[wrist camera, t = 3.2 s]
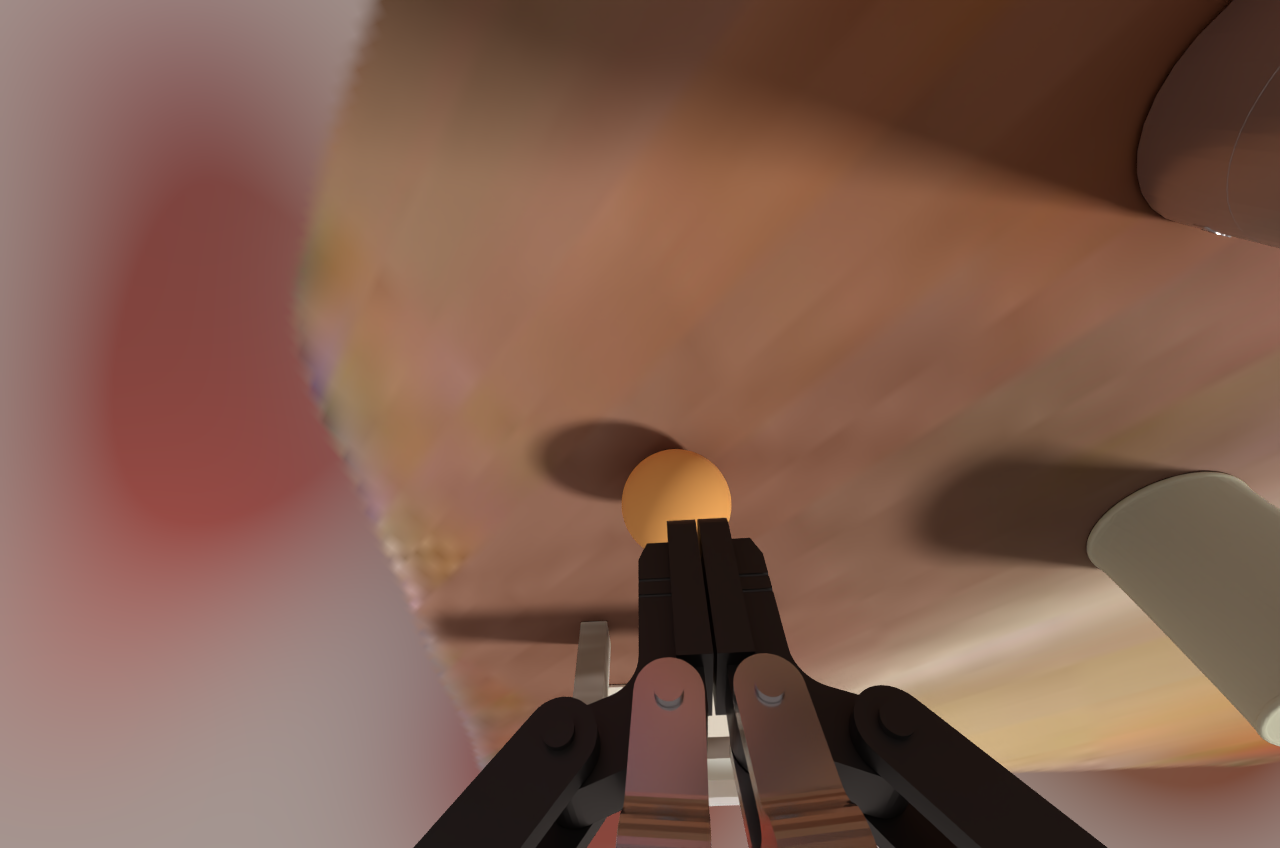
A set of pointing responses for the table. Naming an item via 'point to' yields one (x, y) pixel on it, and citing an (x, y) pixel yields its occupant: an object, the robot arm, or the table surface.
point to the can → (1205, 580)
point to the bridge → (596, 686)
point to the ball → (672, 494)
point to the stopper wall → (722, 793)
